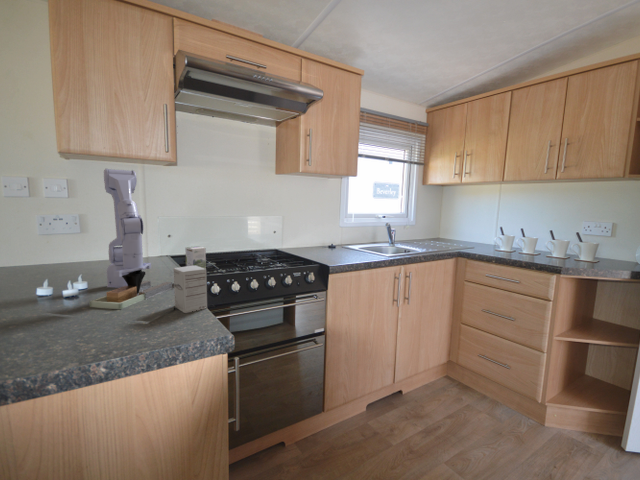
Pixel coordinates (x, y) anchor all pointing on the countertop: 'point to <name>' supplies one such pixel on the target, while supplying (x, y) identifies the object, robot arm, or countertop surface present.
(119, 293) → the front copper block
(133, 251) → the robot arm
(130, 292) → the rear copper block
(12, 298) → the countertop surface
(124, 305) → the tray
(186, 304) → the supplement box
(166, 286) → the aluminium slot
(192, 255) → the syrup box
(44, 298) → the countertop surface
